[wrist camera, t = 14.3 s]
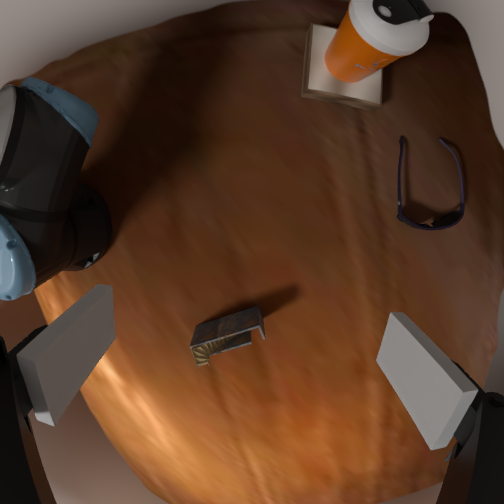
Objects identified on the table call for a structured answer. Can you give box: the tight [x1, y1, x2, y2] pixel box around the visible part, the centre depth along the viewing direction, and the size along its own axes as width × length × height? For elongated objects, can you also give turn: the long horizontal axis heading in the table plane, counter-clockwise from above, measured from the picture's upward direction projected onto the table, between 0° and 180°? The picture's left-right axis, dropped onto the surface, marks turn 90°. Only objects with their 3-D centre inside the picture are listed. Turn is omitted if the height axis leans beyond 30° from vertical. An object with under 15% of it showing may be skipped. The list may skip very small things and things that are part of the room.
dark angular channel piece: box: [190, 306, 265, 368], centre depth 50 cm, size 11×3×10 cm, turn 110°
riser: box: [301, 23, 383, 111], centre depth 42 cm, size 12×12×4 cm
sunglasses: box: [397, 136, 464, 230], centre depth 46 cm, size 14×16×5 cm
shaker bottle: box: [325, 0, 434, 83], centre depth 30 cm, size 9×9×20 cm
